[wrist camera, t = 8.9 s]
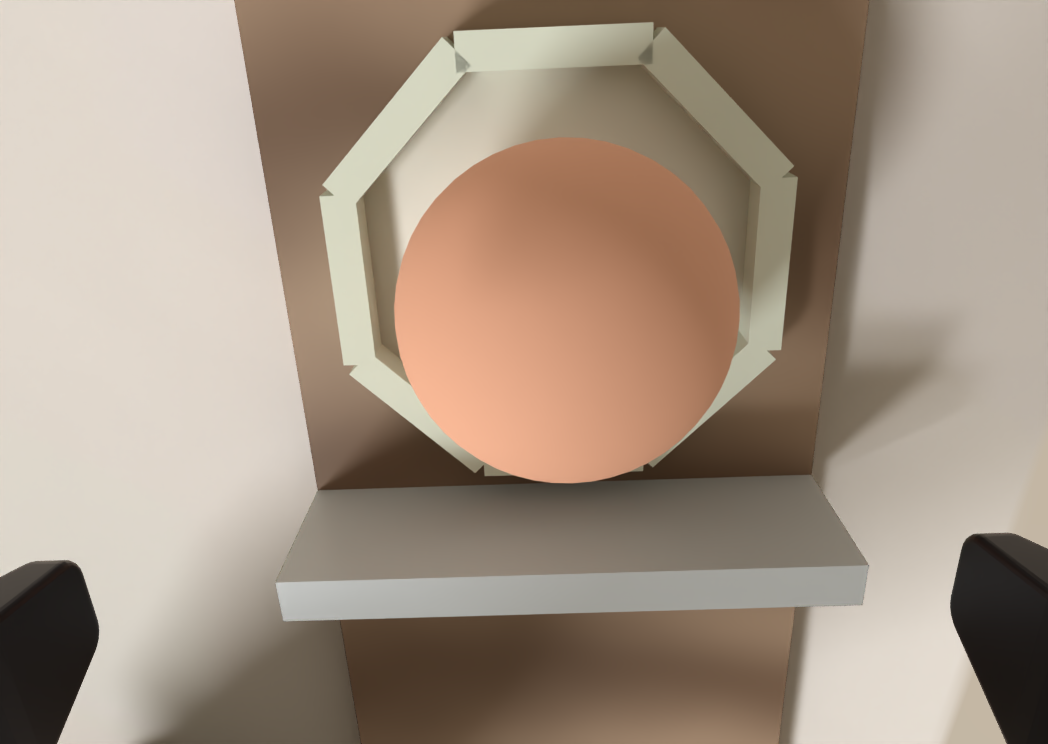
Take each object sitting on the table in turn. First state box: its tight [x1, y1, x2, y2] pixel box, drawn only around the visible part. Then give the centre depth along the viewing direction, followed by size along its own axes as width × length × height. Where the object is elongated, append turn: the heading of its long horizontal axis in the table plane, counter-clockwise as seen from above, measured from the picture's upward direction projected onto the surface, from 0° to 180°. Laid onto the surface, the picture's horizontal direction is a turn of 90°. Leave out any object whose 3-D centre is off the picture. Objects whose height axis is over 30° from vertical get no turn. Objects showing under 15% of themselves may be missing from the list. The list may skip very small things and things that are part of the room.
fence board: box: [234, 0, 869, 744], centre depth 18 cm, size 22×12×4 cm, turn 2°
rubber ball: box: [394, 137, 740, 483], centre depth 14 cm, size 6×6×6 cm
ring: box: [319, 22, 798, 476], centre depth 16 cm, size 9×9×1 cm
